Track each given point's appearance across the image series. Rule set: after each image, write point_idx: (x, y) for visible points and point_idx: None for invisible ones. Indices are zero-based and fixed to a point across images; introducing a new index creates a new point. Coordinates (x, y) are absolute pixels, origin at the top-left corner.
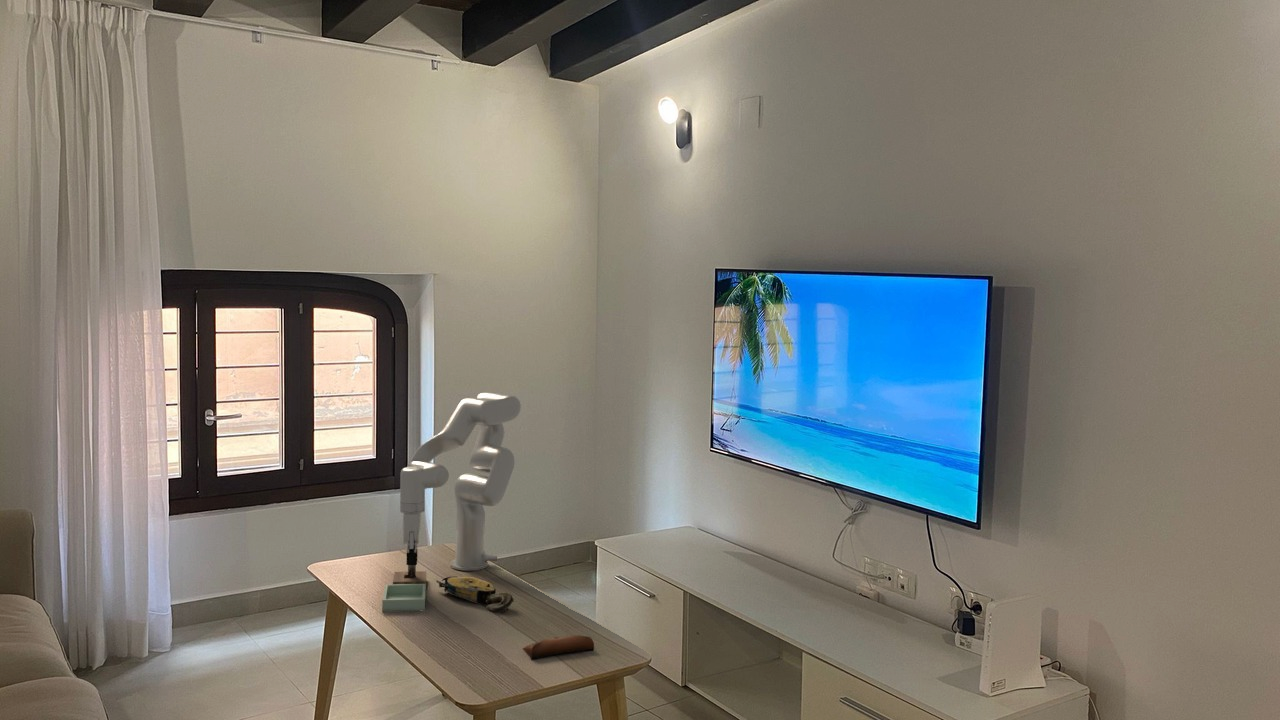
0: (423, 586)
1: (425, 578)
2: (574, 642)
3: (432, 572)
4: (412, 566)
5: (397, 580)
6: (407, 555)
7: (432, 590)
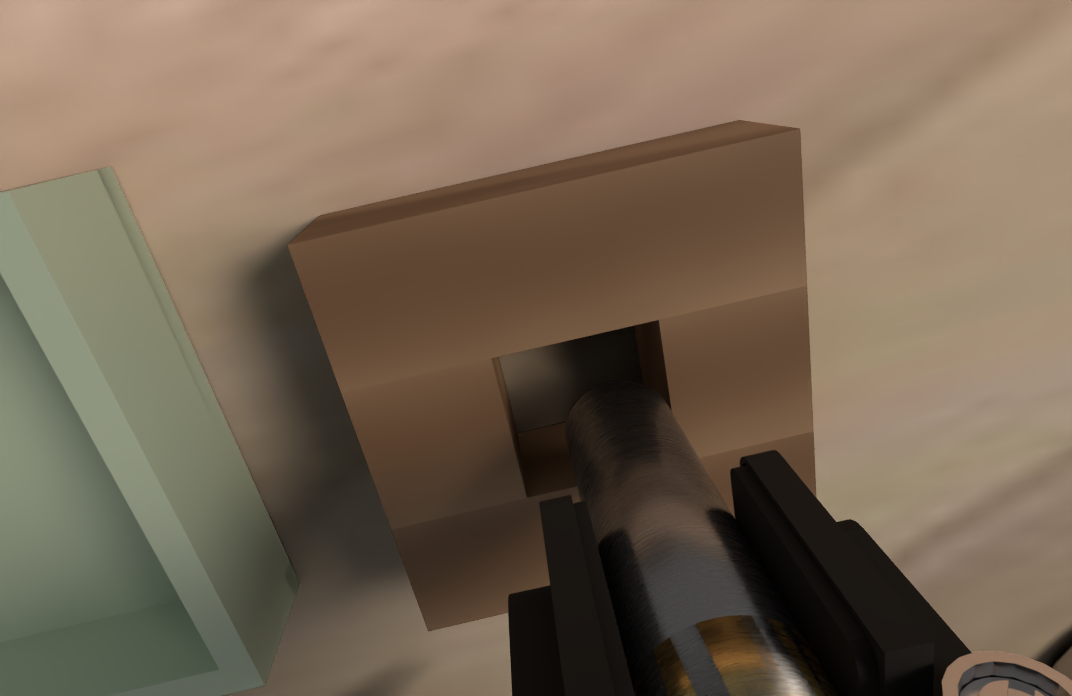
0: (156, 690)
1: None
2: None
3: (1033, 461)
4: None
5: (374, 295)
6: (565, 671)
7: None
